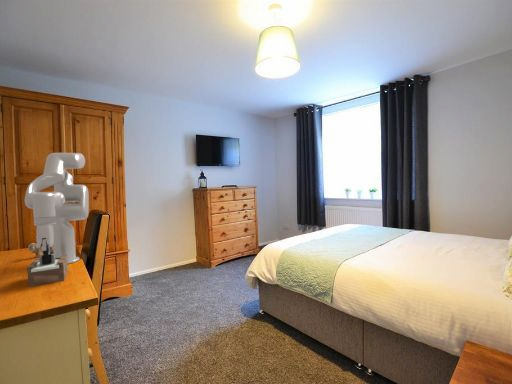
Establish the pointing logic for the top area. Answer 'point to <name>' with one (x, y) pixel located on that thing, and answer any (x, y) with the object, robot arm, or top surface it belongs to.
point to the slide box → (47, 273)
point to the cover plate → (42, 267)
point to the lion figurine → (33, 249)
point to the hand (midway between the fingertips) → (47, 262)
